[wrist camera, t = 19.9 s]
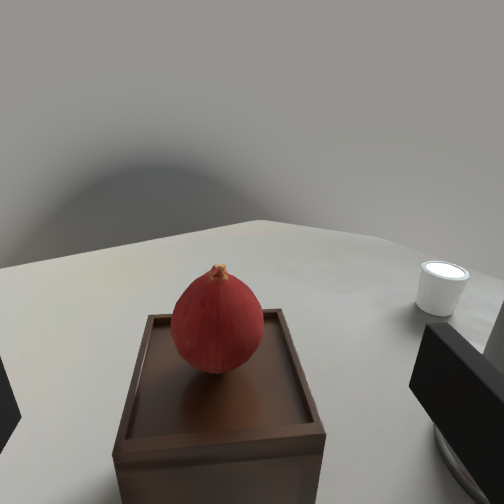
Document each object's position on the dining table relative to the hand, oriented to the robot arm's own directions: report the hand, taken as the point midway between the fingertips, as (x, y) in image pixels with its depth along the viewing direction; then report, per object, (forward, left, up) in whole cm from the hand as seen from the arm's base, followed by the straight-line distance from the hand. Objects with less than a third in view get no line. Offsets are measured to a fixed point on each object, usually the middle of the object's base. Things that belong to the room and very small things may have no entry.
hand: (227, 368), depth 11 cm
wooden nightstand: (0, -10, -23) cm, 25 cm away
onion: (0, -10, -9) cm, 13 cm away
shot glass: (-36, -36, -23) cm, 56 cm away
